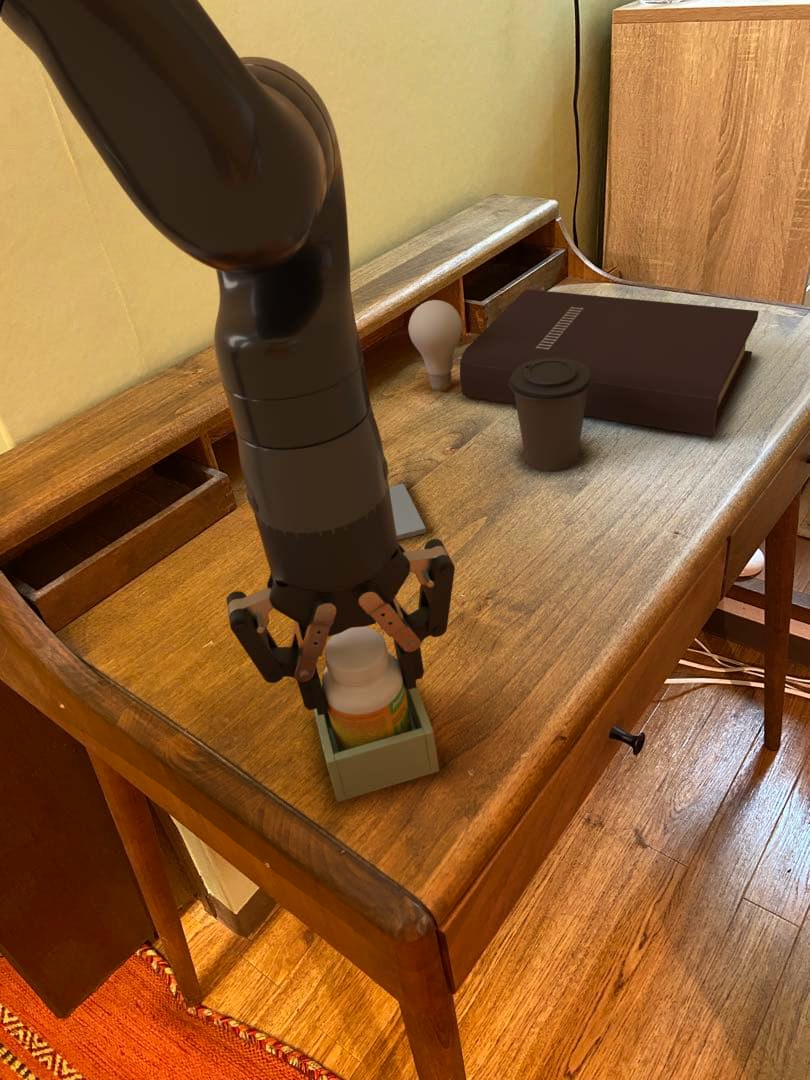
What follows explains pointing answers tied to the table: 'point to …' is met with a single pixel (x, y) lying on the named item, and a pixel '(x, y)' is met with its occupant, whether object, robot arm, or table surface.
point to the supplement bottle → (363, 689)
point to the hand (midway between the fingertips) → (364, 691)
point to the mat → (405, 513)
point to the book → (620, 355)
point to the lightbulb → (436, 339)
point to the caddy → (381, 755)
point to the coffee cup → (551, 410)
